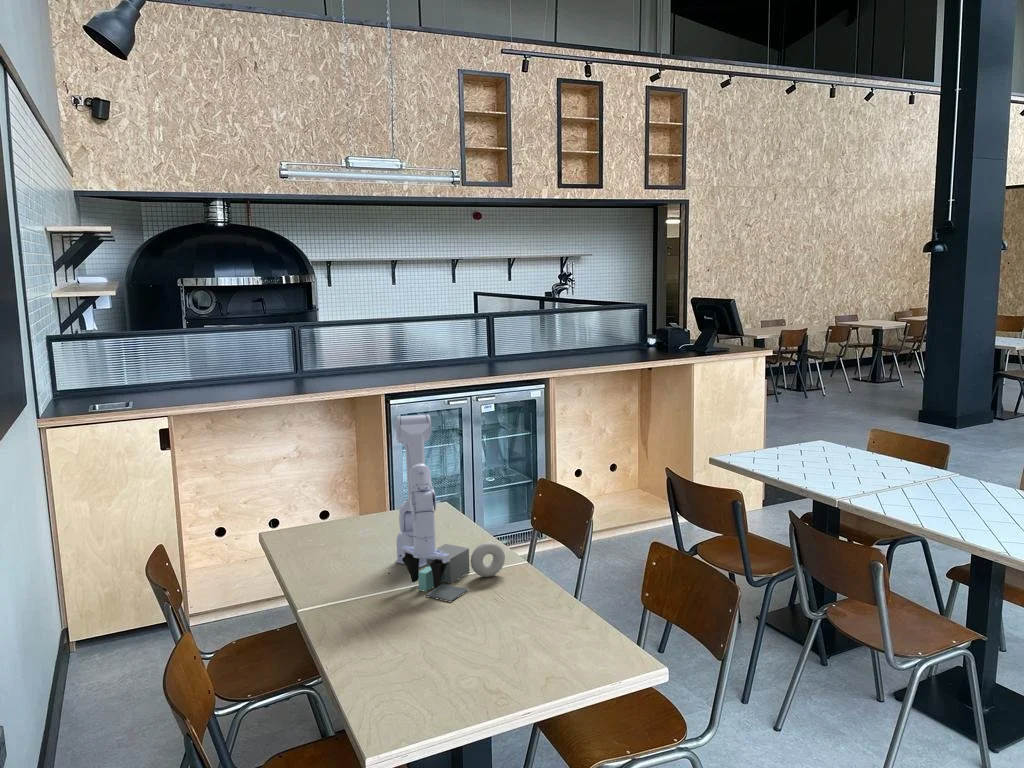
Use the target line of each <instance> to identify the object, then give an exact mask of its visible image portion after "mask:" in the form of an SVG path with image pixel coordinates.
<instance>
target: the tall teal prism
mask: <svg viewBox="0 0 1024 768" xmlns="http://www.w3.org/2000/svg"><path fill="white" fill-rule="evenodd" d="M418 575H419V578H418V590H419V589H420V590H419V591H421V590H424V591H423V592H425V591H427V590H429V589H430V588H432V587H433V588H435V587H434V584H433V573H432V570H431V567H430V566H428V567H427V566H426V567H424V568H423V569H421V570H419V572H418ZM442 581H443V582H444V573H443V576H442V580H441V582H442ZM443 582H442V583H443ZM433 588H432V589H433ZM430 590H431V589H430ZM430 590H429V591H430ZM427 592H428V591H427Z"/></svg>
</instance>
